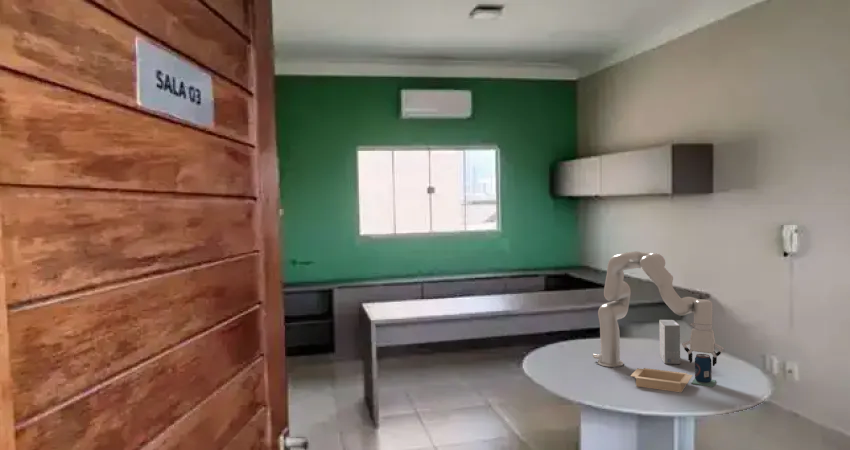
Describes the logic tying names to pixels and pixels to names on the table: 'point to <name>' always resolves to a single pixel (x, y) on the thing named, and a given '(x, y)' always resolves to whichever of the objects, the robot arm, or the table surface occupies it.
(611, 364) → the robot arm
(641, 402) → the table surface
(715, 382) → the coaster
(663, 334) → the hard drive box
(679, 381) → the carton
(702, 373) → the soda can
